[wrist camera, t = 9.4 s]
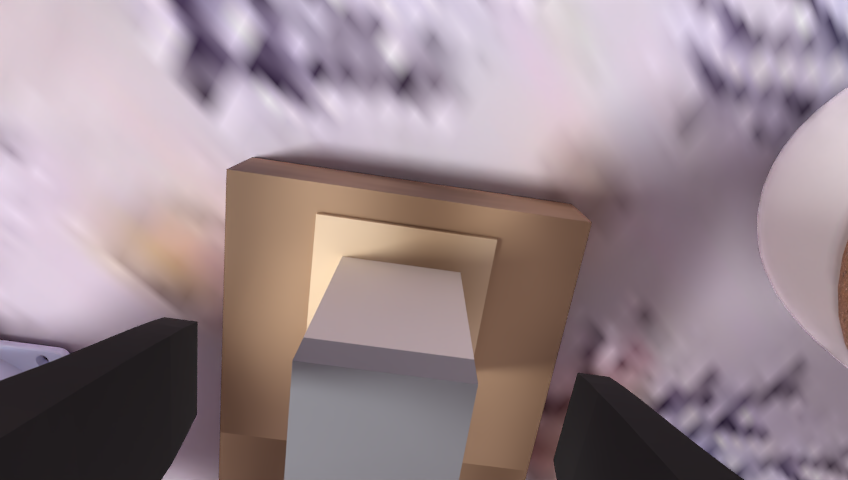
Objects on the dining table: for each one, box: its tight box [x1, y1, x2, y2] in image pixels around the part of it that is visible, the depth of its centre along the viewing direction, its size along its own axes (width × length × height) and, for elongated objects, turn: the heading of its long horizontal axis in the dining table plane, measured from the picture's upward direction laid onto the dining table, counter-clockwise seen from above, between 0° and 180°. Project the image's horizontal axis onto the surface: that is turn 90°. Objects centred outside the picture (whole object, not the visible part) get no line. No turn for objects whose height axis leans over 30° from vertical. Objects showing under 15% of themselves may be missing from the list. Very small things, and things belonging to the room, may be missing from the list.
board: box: [219, 157, 592, 480], centre depth 20 cm, size 12×18×3 cm, turn 172°
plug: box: [284, 256, 478, 480], centre depth 15 cm, size 4×4×6 cm
